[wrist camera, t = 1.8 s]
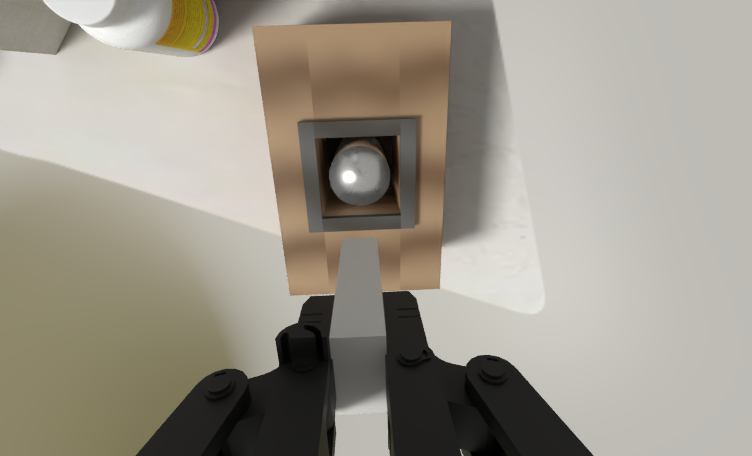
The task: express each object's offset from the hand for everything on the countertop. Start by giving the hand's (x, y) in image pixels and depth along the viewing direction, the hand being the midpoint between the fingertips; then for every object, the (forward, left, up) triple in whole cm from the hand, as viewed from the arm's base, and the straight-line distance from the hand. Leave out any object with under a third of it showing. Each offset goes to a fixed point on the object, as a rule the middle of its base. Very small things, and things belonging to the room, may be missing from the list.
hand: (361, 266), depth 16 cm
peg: (0, 0, -23) cm, 23 cm away
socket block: (0, 0, -23) cm, 23 cm away
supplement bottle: (-13, -15, -23) cm, 31 cm away
